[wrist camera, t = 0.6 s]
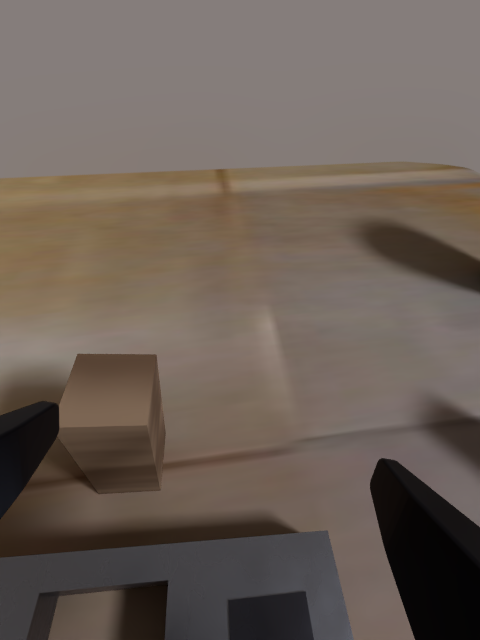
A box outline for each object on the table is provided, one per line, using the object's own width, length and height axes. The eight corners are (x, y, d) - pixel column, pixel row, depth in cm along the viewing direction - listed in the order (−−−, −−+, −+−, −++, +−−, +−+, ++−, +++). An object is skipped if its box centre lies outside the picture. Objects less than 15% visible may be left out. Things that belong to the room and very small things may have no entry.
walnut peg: (160, 490, 21) (146, 425, 14) (98, 493, 20) (50, 427, 13) (165, 433, 23) (156, 354, 16) (111, 435, 23) (77, 354, 16)
